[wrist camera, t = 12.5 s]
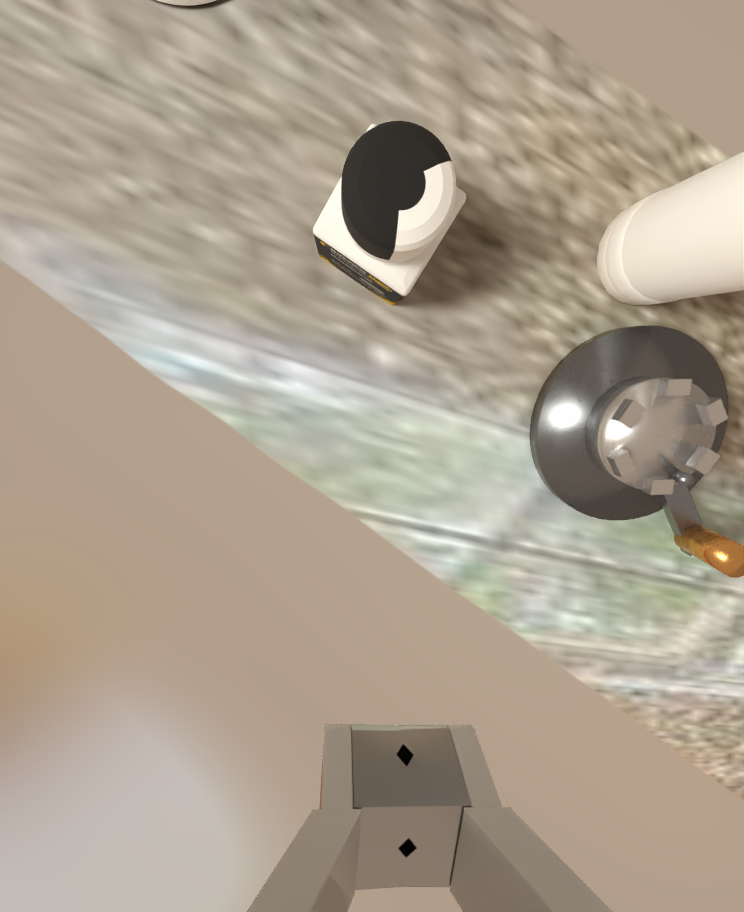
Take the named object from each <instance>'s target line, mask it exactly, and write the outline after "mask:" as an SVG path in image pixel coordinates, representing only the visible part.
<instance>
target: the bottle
mask: <svg viewBox="0 0 744 912" xmlns="http://www.w3.org/2000/svg"><path fill="white" fill-rule="evenodd" d="M597 266H598V273H599V278H600V280H601V282H602V284H603V286H604V287H605V289H606V291H607V292H608V293H609V294H610V295H611V296H613V297H614V298H615V299H616V300H618V301H619V302H622V303H626V304H630V305H633V306H634V305H651V304H659V303H667V302H673V301H677V300H679V299H685V298H692V297H699V296H706V295H713V294H721V293H728V292H735V291H742V290H744V152H742V153H740V154H737V155H736V156H733V157H731V158H729V159H727V160H725V161H723V162H721V163H719V164H717V165H715V166H713V167H711V168H709V169H707V170H705V171H702V172H700V173H698V174H696V175H694V176H692V177H690V178H688V179H686V180H684V181H682V182H680V183H678V184H676V185H674V186H672V187H669V188H667V189H662V190H660V191H658V192H656V193H654V194H652V195H650V196H648V197H646V198H644V199H642V200H640V201H639V202H637V203H635V204H633V205H632V206H631V207H629V208H627V209H625V210H623V211H621V212H620V213H619V214H618V215H617V217H616V218H615V219H614V220H613V221H612V222H611V223H610V224H609V225H608V227H607V229H606V231H605V233H604V235H603V237H602V239H601V241H600V244H599V250H598V256H597Z"/></svg>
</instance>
